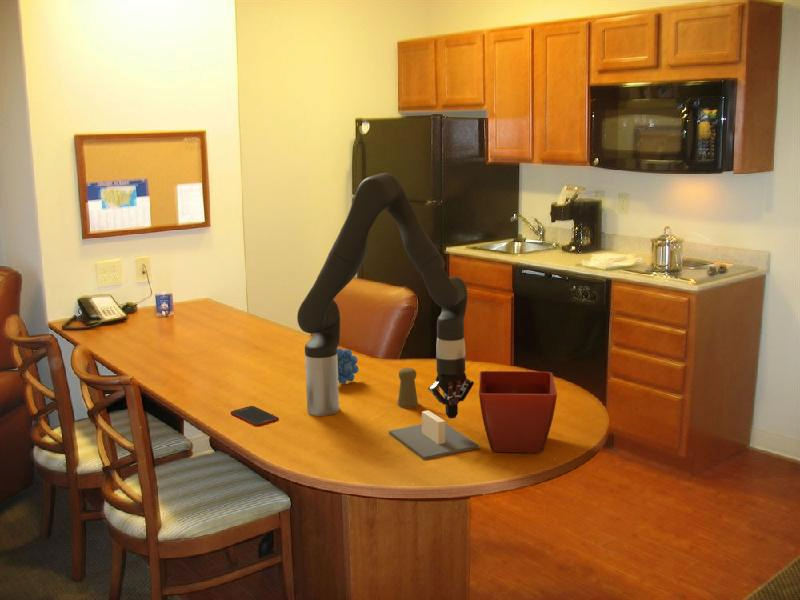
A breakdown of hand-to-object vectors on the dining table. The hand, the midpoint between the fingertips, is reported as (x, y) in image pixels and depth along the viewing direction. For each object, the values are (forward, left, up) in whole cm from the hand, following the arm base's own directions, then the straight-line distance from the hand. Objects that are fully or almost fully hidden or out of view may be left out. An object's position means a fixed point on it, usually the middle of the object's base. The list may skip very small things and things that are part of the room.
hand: (451, 417), depth 226 cm
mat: (0, -6, -6) cm, 8 cm away
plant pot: (+12, +12, -6) cm, 18 cm away
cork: (-28, +1, -6) cm, 29 cm away
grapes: (-54, -8, -6) cm, 55 cm away
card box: (0, -5, -5) cm, 7 cm away
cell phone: (-40, -42, -6) cm, 58 cm away
